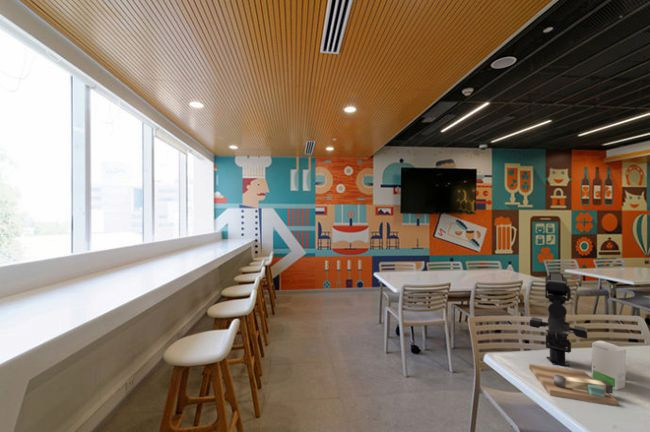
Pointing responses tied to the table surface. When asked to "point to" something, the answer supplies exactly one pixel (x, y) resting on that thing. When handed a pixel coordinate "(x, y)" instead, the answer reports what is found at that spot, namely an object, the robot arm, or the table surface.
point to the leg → (581, 383)
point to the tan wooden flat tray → (591, 395)
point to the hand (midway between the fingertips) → (557, 347)
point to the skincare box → (609, 363)
